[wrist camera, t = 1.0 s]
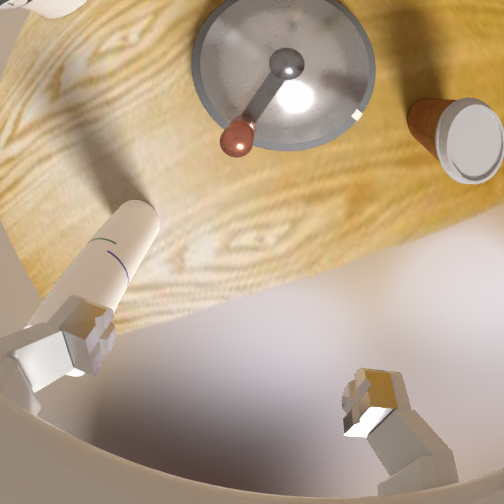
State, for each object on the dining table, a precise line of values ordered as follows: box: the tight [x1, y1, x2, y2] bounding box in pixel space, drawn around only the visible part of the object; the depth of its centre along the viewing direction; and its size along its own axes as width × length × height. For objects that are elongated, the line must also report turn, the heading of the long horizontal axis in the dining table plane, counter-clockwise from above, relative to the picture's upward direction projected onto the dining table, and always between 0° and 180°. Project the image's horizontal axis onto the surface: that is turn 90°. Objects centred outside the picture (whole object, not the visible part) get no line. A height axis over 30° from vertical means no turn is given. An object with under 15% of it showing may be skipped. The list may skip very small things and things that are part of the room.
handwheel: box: [200, 0, 369, 157], centre depth 24 cm, size 19×18×10 cm
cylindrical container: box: [24, 200, 160, 376], centre depth 32 cm, size 7×7×25 cm
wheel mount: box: [192, 0, 375, 151], centre depth 29 cm, size 21×21×2 cm
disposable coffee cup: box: [408, 98, 504, 184], centre depth 27 cm, size 10×10×12 cm
